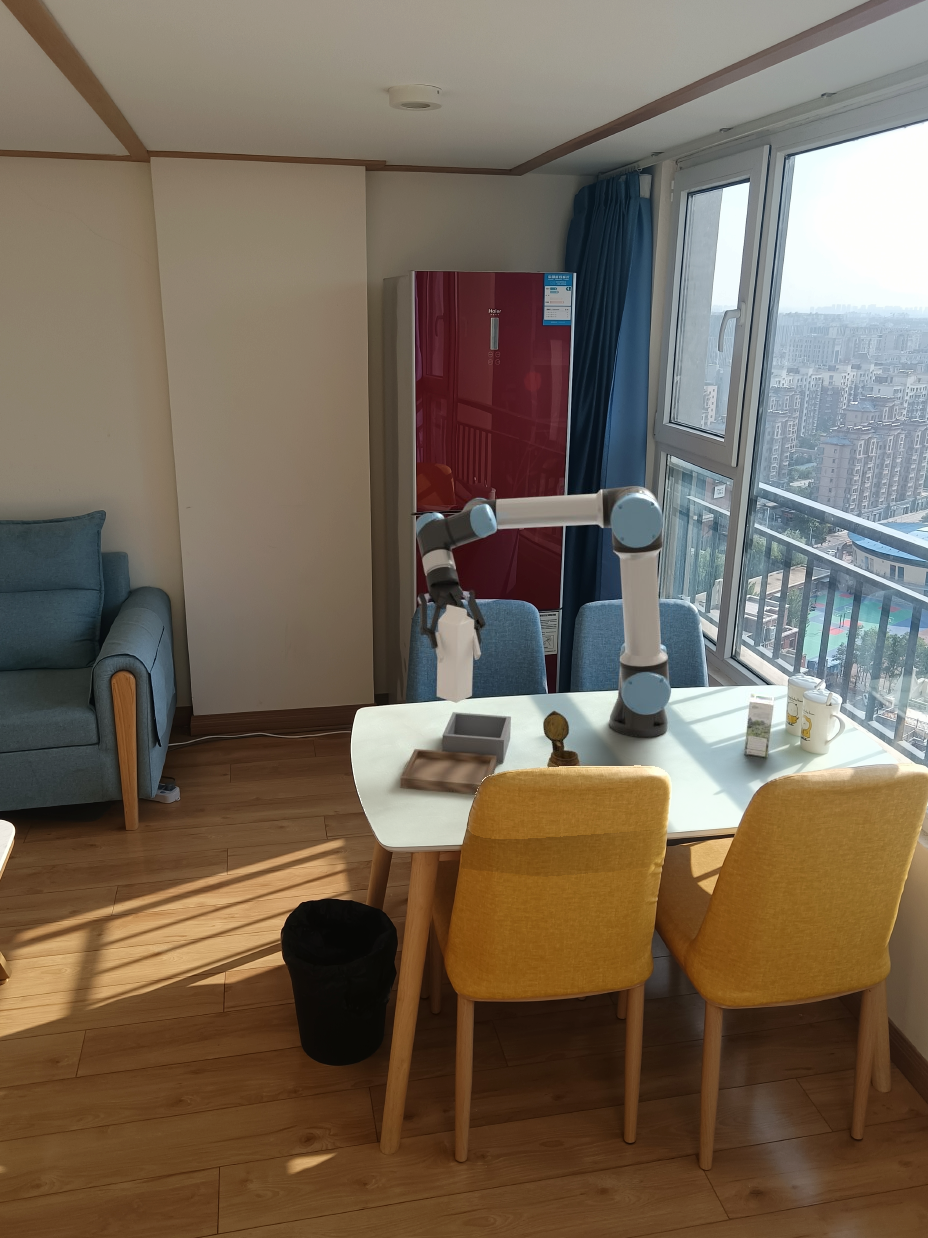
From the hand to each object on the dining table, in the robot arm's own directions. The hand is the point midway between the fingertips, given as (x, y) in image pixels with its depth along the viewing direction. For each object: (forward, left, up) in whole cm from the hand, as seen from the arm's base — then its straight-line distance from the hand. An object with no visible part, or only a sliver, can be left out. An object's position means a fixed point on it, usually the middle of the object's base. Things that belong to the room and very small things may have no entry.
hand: (459, 658), depth 224 cm
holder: (-3, -13, -28) cm, 31 cm away
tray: (+1, +4, -28) cm, 28 cm away
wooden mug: (-25, +9, -28) cm, 38 cm away
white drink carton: (-72, -24, -28) cm, 81 cm away
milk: (+2, -3, -11) cm, 11 cm away
